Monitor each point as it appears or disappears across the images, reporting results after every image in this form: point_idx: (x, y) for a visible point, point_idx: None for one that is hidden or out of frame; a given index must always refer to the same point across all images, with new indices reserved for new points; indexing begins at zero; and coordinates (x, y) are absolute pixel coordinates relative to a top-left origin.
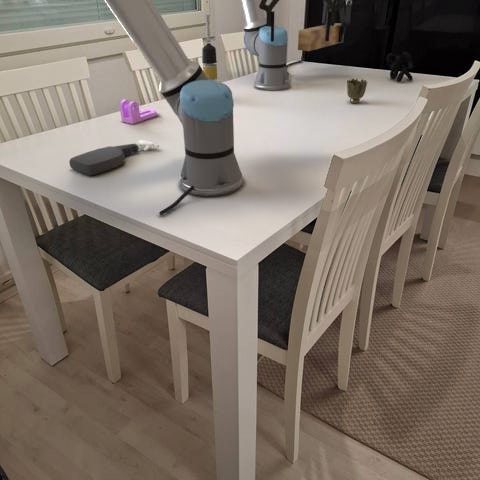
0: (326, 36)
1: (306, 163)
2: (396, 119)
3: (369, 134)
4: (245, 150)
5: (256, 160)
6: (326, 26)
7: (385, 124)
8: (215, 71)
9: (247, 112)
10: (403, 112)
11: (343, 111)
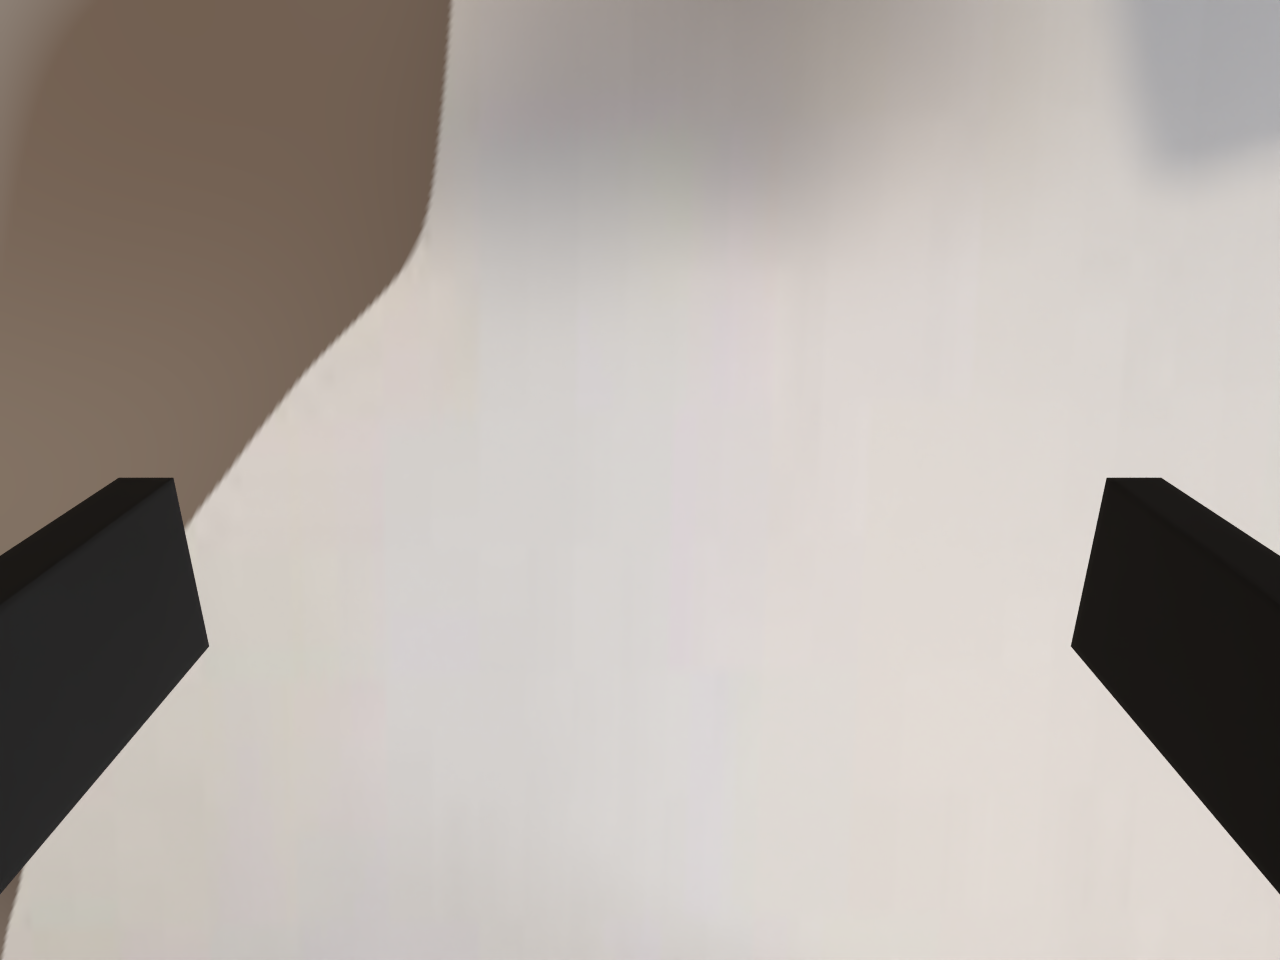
0: (123, 512)
1: (564, 71)
2: None
3: None
4: (942, 289)
5: (881, 112)
6: (41, 667)
7: None
8: None
9: (896, 910)
10: (10, 925)
11: (345, 934)
